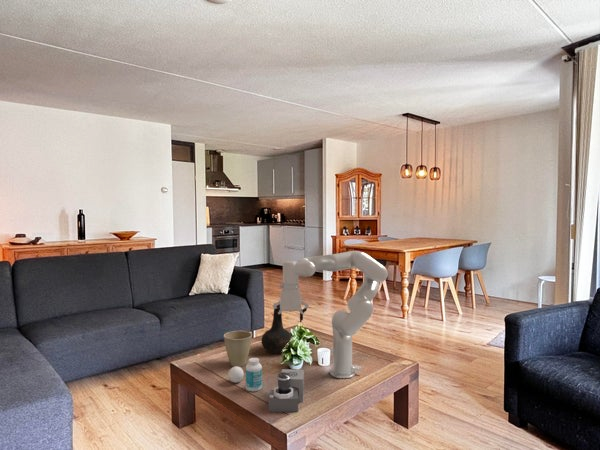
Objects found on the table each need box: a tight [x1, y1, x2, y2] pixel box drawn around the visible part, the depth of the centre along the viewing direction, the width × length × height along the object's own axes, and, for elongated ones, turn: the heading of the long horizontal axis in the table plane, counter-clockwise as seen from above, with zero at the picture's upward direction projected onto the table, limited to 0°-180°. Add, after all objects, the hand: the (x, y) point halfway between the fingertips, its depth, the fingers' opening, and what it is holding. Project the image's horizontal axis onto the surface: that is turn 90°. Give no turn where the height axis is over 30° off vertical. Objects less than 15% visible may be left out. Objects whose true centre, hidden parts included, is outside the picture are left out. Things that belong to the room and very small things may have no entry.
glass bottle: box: [260, 302, 292, 354], centre depth 225 cm, size 18×18×28 cm
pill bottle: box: [245, 357, 263, 392], centre depth 178 cm, size 8×7×14 cm
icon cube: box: [280, 368, 305, 403], centre depth 171 cm, size 10×10×10 cm
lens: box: [277, 371, 290, 394], centre depth 162 cm, size 5×5×8 cm
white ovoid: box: [227, 366, 245, 383], centre depth 186 cm, size 10×7×7 cm
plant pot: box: [223, 330, 253, 368], centre depth 206 cm, size 15×15×16 cm
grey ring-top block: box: [268, 386, 299, 413], centre depth 162 cm, size 12×8×7 cm, turn 91°
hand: (290, 321), depth 187 cm, fingers open, 9 cm apart
